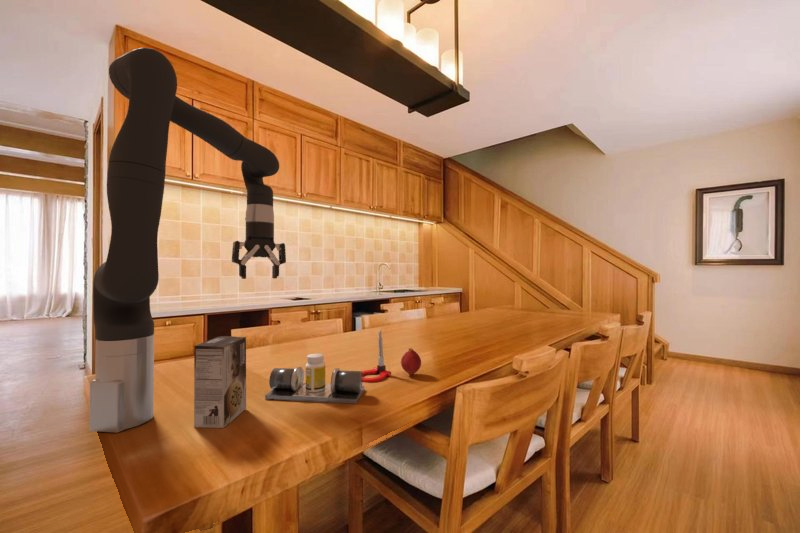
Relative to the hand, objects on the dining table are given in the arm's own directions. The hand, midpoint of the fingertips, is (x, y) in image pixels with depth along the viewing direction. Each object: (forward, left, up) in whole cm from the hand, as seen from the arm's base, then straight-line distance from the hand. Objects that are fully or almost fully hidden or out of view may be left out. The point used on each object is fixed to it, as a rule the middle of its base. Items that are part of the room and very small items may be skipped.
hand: (259, 278), depth 97 cm
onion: (+7, -43, -28) cm, 52 cm away
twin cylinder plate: (-11, -21, -28) cm, 37 cm away
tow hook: (+4, -32, -28) cm, 43 cm away
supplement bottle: (-11, -21, -27) cm, 36 cm away
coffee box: (-26, -6, -28) cm, 39 cm away
